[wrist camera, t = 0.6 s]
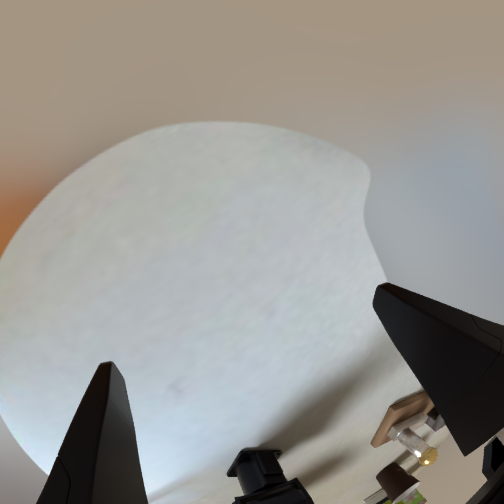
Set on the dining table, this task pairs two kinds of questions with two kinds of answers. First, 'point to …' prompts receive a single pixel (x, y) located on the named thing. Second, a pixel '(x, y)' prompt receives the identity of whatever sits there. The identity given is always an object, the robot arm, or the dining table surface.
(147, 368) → the dining table surface
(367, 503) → the tea box
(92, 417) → the robot arm
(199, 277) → the dining table surface
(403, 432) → the knob
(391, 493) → the coffee mug
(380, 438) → the plate
